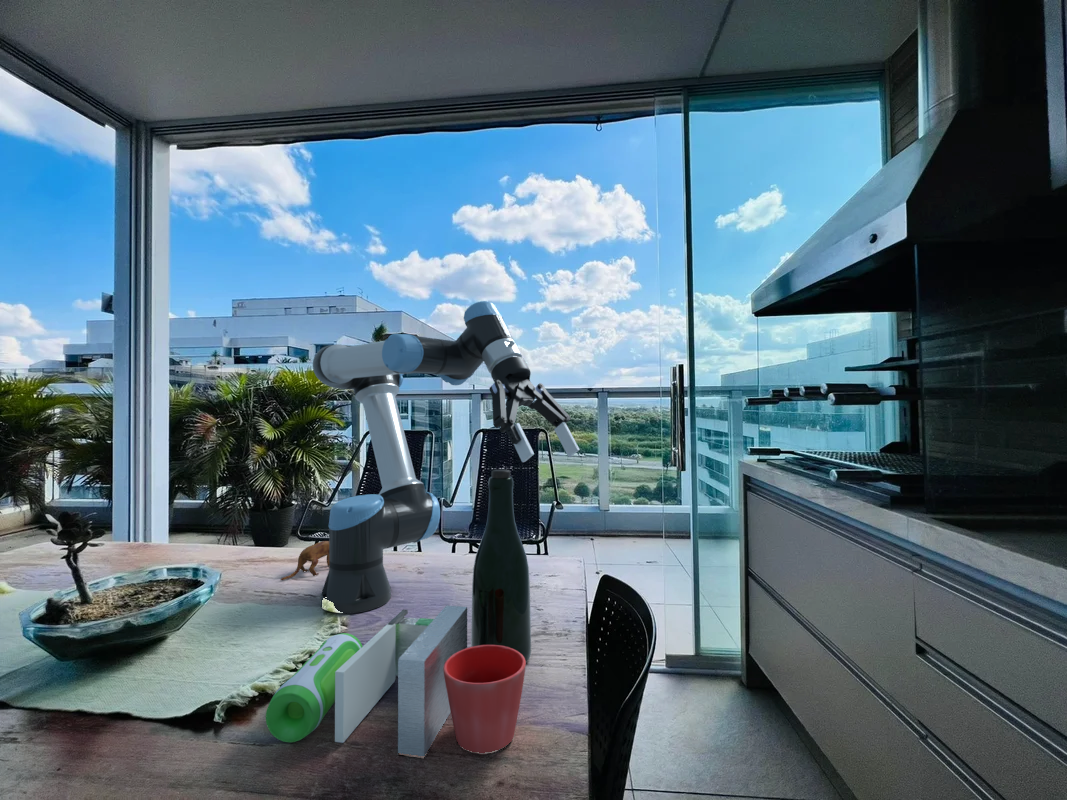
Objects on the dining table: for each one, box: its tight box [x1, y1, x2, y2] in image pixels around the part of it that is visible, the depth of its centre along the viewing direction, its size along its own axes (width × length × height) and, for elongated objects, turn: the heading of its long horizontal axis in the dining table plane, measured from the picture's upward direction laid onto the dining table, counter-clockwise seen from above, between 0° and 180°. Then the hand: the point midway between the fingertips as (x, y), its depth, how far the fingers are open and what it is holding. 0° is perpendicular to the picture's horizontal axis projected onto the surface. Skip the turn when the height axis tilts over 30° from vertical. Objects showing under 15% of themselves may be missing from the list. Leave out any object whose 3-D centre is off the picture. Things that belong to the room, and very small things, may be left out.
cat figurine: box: [280, 540, 329, 581], centre depth 133 cm, size 18×7×14 cm, turn 144°
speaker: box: [265, 632, 363, 743], centre depth 73 cm, size 18×7×8 cm, turn 178°
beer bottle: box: [470, 469, 532, 664], centre depth 87 cm, size 10×10×33 cm
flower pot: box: [443, 645, 527, 753], centre depth 66 cm, size 11×11×10 cm
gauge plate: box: [334, 609, 409, 744], centre depth 74 cm, size 1×20×9 cm, turn 170°
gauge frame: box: [395, 605, 468, 756], centre depth 73 cm, size 14×20×12 cm
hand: (552, 455), depth 92 cm, fingers open, 13 cm apart
